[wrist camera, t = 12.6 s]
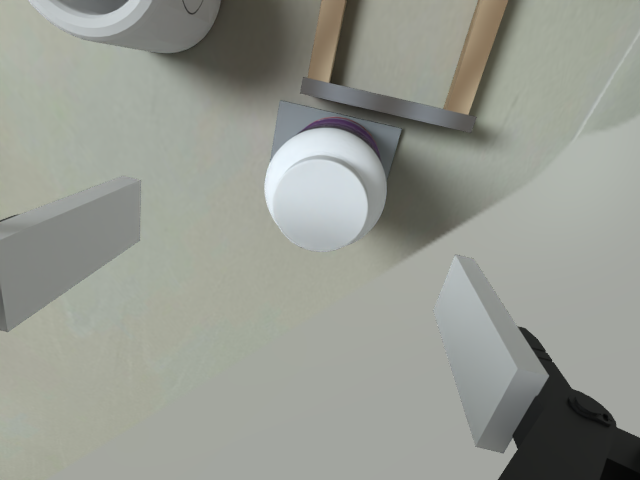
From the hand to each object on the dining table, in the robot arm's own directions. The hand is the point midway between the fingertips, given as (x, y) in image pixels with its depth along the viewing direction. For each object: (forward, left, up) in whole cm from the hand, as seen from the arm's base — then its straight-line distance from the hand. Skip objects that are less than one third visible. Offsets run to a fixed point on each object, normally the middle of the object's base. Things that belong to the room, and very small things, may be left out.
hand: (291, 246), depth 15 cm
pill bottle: (+1, 0, -21) cm, 21 cm away
